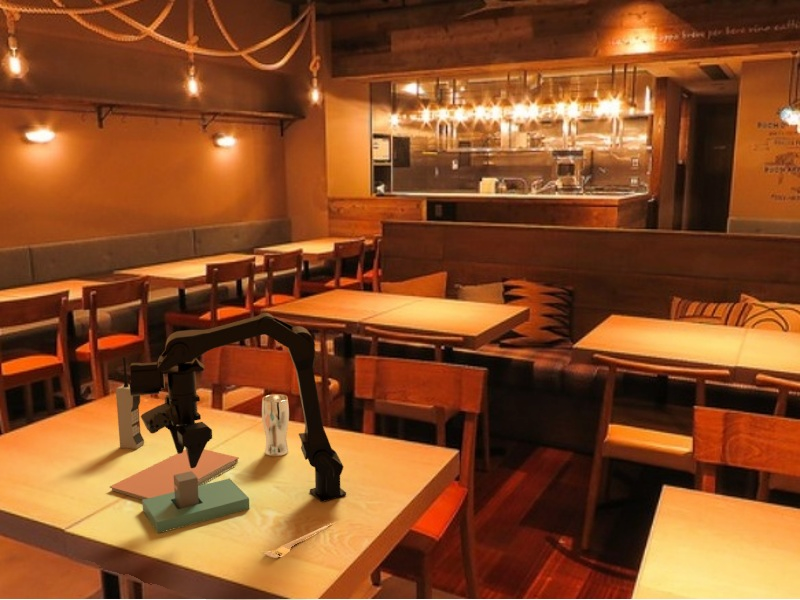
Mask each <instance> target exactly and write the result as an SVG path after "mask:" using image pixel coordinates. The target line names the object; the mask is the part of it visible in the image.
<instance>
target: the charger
mask: <svg viewBox="0 0 800 600" xmlns="http://www.w3.org/2000/svg"><path fill="white" fill-rule="evenodd" d="M198 485H199V484H198V479H197V476H196V475H195V474H194V473H193V472H192V471H190V472H185V473H181V474H177V475H174V492H175V506H176V508H177V509H182V508H185V507H189V506H193V505H197V504H199V498H198Z"/></svg>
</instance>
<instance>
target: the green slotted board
mask: <svg viewBox="0 0 800 600" xmlns="http://www.w3.org/2000/svg"><path fill="white" fill-rule="evenodd" d="M198 498H199V504H197V505H193V506H189V507H185V508H182V509H177V508H176V506H175V492H172V493H168V494H164V495H160V496H156V497H152V498H148V499H141V500H142V501H141V502H142V512H143V513H144V515H145V516H146V518H147V517H148V518H147V519H148V521H149V520H150V521H149V522H150V523H152V524H151V525H152V527H153V526H154V527H153V528H154V530H155V531H156V533H157V534H160V532H161V533H164V532H163V531H165V532H167V531H166V530H169V531H171V530H170V529H172V530H174V529H173V528H176V529H179V528H178V527H180V528H183V527H186V525H187V526H190V524H191V525H193V524H197V523H198V524H199V523H202V522H205V521H208V520H212V519H217V518H221V517H224V516H229V515H231V514H235V513H238V512H242V511H247V510H249V509H250V498H249V496H248V495H247V494H245V493H244V491H243V490H242V488H241V487H239V486H238V485H237V484H236V483H235V482H234V481H233V479H231V478H230V477H229V478H226V479H221V480H218V481H213V482H209V483H205V484H201V485H199V486H198ZM182 526H183V527H182Z"/></svg>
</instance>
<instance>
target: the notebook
mask: <svg viewBox="0 0 800 600" xmlns="http://www.w3.org/2000/svg"><path fill="white" fill-rule="evenodd" d="M239 458H240V457H239V456H234V455H229V454H225V453H222V452H219V451H213V450H210V449H209V450H208V449H205V448H204V450H203V452H202V454H201V457H200V459H199V461H198V463H197V466H196V467H195V468H190V464H189V460H188V456H187V452H186V449H184V450H183V453H180V454H178V453H176V454H174V455H171V456H170V457H167V458H165V459H163V460H162V461H159V462H157V463H155V464H153V465H150V466H148V467H146V468H145V469H143V470H140V471H138V472H137V473H135V474H132V475H131V476H130V475H129V476H128V477H126V478H124V479H122V480H120V481H118V482H116V483H114V484H112V485H110V486H109V489H111V491H112V492H117V493H118V494H119V493H120V494H123V495H126V496H130V497H132V498H133V497H134V498H136V497H137V498H136V499H139V498H140V499H139V500H143V499H148V498H152V497H156V496H160V495H164V494H168V493H172V492H174V475H177V474H181V473H185V472H190V471H192V472H193V473H194V474H195V475H196V476H197V479H198V486H201V485H205V484H206V483H208V482H209V481H211V480H213V479H215V478H217V477H219V476H220V475H222V474H223V473H225V472H228V471H229V470H231V469H233V468H234V467H236V466H237V463H239Z"/></svg>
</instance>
